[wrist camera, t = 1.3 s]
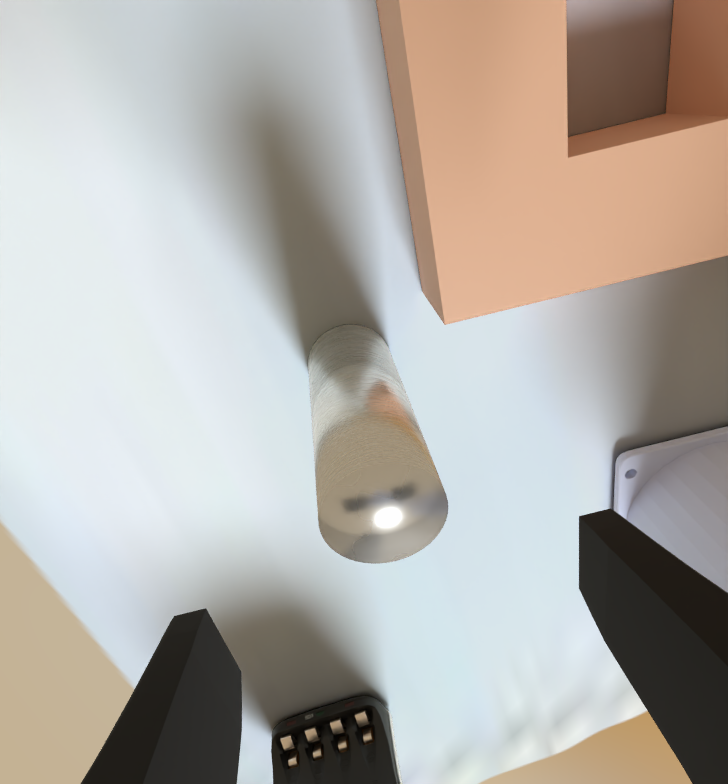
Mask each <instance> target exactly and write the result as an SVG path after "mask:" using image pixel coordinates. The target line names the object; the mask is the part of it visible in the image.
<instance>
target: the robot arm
mask: <svg viewBox="0 0 728 784" xmlns="http://www.w3.org/2000/svg"><path fill="white" fill-rule="evenodd" d="M628 470H630V471H629V472H627V471H628ZM626 472H627V473H626ZM579 589H580V591H581V593H582V595H583V597H584V600H585V602H586V604H587V606H588V608H589V610H590V612H591V614H592V617H593V619H594V621H595V623H596V625H597V627H598V629H599V631H600V633H601V635H602V637H603V639H604V641H605V642H606V644H607V646H608V647H609V649H610V651H611V652H612V654H613V656H614V657H615V659H616V660H617V662H618V664H619V665H620V667H621V669H622V670H623V672H624V673H625V675H626V677H627V678H628V680H629V681H630V683H631V685H632V686H633V688H634V689H635V691H636V693H637V694H638V696H639V697H640V699H641V701H642V702H643V704H644V705H645V707H646V709H647V710H648V712H649V713H650V715H651V717H652V718H653V720H654V721H655V723H656V725H657V726H658V728H659V729H660V731H661V733H662V734H663V736H664V737H665V739H666V741H667V742H668V744H669V745H670V747H671V749H672V750H673V752H674V753H675V755H676V757H677V758H678V760H679V761H680V763H681V765H682V766H683V768H684V770H685V771H686V773H687V775H688V776H689V778H690V780H691V782H692V783H693V784H728V426H727V427H723V428H719V429H714V430H710V431H706V432H702V433H698V434H694V435H690V436H686V437H682V438H678V439H674V440H670V441H666V442H662V443H657V444H653V445H649V446H645V447H641V448H637V449H633V450H629V451H626V452H623V453H622V454H620V455H619V457H618V458H617V460H616V465H615V488H614V510H612V509H607V510H603V511H599V512H595V513H591V514H587V515H583V516H579ZM241 732H242V691H241V671H240V669H239V667H238V665H237V663H236V662H235V660H234V658H233V656H232V654H231V653H230V651H229V649H228V647H227V645H226V644H225V642H224V640H223V638H222V636H221V635H220V633H219V631H218V629H217V628H216V626H215V624H214V622H213V620H212V619H211V617H210V615H209V613H208V611H207V610H206V609H202V610H198V611H193V612H189V613H185V614H181V615H177V616H174V618H173V619H172V621H171V622H170V624H169V626H168V628H167V630H166V632H165V633H164V635H163V637H162V639H161V641H160V643H159V645H158V647H157V649H156V650H155V652H154V654H153V656H152V658H151V660H150V662H149V664H148V666H147V667H146V669H145V671H144V673H143V675H142V677H141V679H140V681H139V682H138V684H137V686H136V688H135V690H134V692H133V694H132V695H131V697H130V699H129V701H128V703H127V705H126V706H125V708H124V710H123V712H122V713H121V716H120V717H119V719H118V721H117V722H116V724H115V726H114V728H113V730H112V731H111V733H110V735H109V737H108V738H107V740H106V742H105V744H104V746H103V747H102V749H101V751H100V753H99V754H98V756H97V758H96V759H95V761H94V763H93V765H92V766H91V768H90V770H89V771H88V773H87V774H86V776H85V778H84V779H83V781H82V783H81V784H237V774H238V764H239V753H240V743H241Z"/></svg>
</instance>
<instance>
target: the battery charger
mask: <svg viewBox="0 0 728 784" xmlns="http://www.w3.org/2000/svg"><path fill="white" fill-rule="evenodd" d="M271 752H272V764H273V784H402V779H401V774H400V769H399V763H398V756H397V751H396V745H395V738H394V730H393V723H392V716H391V713H390V712H389V710H387V709H386V708H385V706H384V705H383V704H382V703H380V702H379V701H378V700H377V699H375V698H373V697H369V696H361V697H355V698H351V699H347V700H344V701H340V702H337V703H334V704H330V705H327V706H324V707H321V708H318V709H315V710H312V711H309V712H306V713H303V714H300V715H297V716H295V717H292V718H289V719H287V720H285V721H283V722H281V723H279V724H278V725H277V726H276V727H275V728H274V729H273V732H272V749H271Z"/></svg>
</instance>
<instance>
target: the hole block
mask: <svg viewBox="0 0 728 784" xmlns="http://www.w3.org/2000/svg"><path fill="white" fill-rule="evenodd" d="M376 3H377V9H378V16H379V22H380V28H381V35H382V41H383V47H384V53H385V60H386V66H387V72H388V79H389V85H390V91H391V97H392V104H393V110H394V116H395V123H396V129H397V135H398V141H399V148H400V154H401V160H402V167H403V173H404V179H405V185H406V192H407V198H408V204H409V211H410V217H411V223H412V229H413V236H414V242H415V248H416V255H417V261H418V267H419V273H420V280H421V286H422V292H423V293H424V295H425V296H426V298H427V299H428V301H429V302H430V304H431V305H432V307H433V308H434V310H435V311H436V313H437V314H438V315H439V317H440V318H441V320H442V321H443V323H444V324H445V325H446V324H450V323H454V322H458V321H462V320H466V319H470V318H474V317H479V316H483V315H487V314H491V313H495V312H499V311H503V310H507V309H511V308H515V307H519V306H524V305H528V304H532V303H536V302H540V301H544V300H548V299H552V298H556V297H560V296H564V295H569V294H573V293H577V292H581V291H585V290H589V289H593V288H597V287H601V286H605V285H609V284H613V283H618V282H622V281H626V280H630V279H634V278H638V277H642V276H646V275H650V274H654V273H658V272H663V271H667V270H671V269H675V268H679V267H683V266H687V265H691V264H695V263H699V262H703V261H707V260H712V259H716V258H720V257H724V256H728V0H674V6H673V20H672V33H671V47H670V61H669V74H668V88H667V101H666V113H665V114H661V115H657V116H653V117H649V118H645V119H640V120H636V121H632V122H628V123H624V124H620V125H616V126H612V127H608V128H603V129H599V130H595V131H591V132H587V133H583V134H579V135H575V136H571V137H568V121H567V25H566V0H376Z"/></svg>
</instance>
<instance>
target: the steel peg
mask: <svg viewBox="0 0 728 784" xmlns="http://www.w3.org/2000/svg"><path fill="white" fill-rule="evenodd" d="M308 371H309V386H310V401H311V416H312V431H313V446H314V461H315V476H316V491H317V506H318V521H319V528H320V532H321V534H322V537H323V539H324V540H325V542H326V543H327V544H328V545H329V546H330V547H331V548H332V549H333V550H334V551H335V552H337V553H338V554H340V555H342V556H344V557H346V558H348V559H351V560H354V561H358V562H363V563H387V562H393V561H397V560H400V559H404V558H406V557H409V556H411V555H413V554H415V553H417V552H419V551H420V550H422V549H423V548H425V547H426V546H427V545H428V544H430V543H431V542H432V541H433V540H434V539H435V538H436V536H437V535H438V534H439V532H440V531H441V529H442V528H443V526H444V523H445V521H446V518H447V514H448V500H447V497H446V493H445V491H444V488H443V486H442V483H441V481H440V478H439V475H438V473H437V470H436V468H435V465H434V463H433V460H432V458H431V455H430V452H429V450H428V447H427V445H426V442H425V440H424V437H423V435H422V432H421V430H420V427H419V424H418V422H417V419H416V417H415V414H414V412H413V409H412V407H411V404H410V401H409V399H408V396H407V394H406V391H405V389H404V386H403V384H402V381H401V378H400V376H399V373H398V371H397V368H396V366H395V363H394V361H393V358H392V356H391V353H390V350H389V348H388V346H387V344H386V342H385V341H384V339H383V338H382V337H381V336H380V335H379V334H378V333H377V332H375V331H373V330H372V329H370V328H368V327H365V326H361V325H353V324H350V325H342V326H338V327H335V328H333V329H330V330H329V331H327V332H325V333H324V334H323V335H321V336H320V337H319V338H318V339H317V341H316V342H315V343H314V345H313V347H312V348H311V351H310V354H309V358H308Z"/></svg>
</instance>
